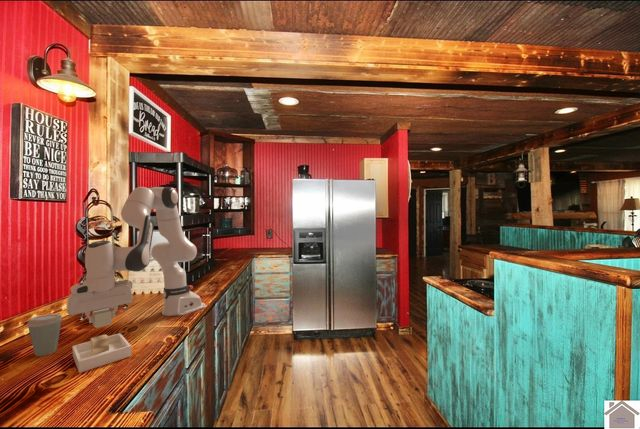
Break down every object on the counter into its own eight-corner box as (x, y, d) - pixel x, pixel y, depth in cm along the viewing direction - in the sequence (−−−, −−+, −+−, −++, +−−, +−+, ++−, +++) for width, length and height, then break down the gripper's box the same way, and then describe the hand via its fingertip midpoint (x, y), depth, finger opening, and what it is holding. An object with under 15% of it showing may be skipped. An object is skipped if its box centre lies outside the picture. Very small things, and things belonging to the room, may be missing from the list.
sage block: (109, 320, 117) (108, 308, 117) (111, 324, 113) (111, 311, 113) (93, 324, 113) (92, 311, 113) (95, 328, 110) (94, 314, 110)
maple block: (106, 346, 123) (105, 334, 123) (109, 349, 119) (108, 337, 119) (91, 350, 119) (90, 338, 119) (93, 354, 116) (92, 341, 116)
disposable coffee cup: (46, 346, 126) (44, 311, 126) (71, 346, 126) (69, 311, 125) (20, 359, 116) (18, 321, 115) (47, 359, 115) (45, 320, 115)
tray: (120, 342, 129) (120, 333, 128) (131, 356, 116) (131, 345, 116) (72, 355, 117) (72, 345, 117) (79, 372, 105) (78, 361, 104)
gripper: (130, 277, 123) (131, 310, 123) (65, 287, 108) (66, 325, 108) (134, 280, 118) (135, 314, 119) (67, 291, 104) (68, 330, 104)
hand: (102, 319), depth 113 cm, fingers closed on sage block, 5 cm apart
